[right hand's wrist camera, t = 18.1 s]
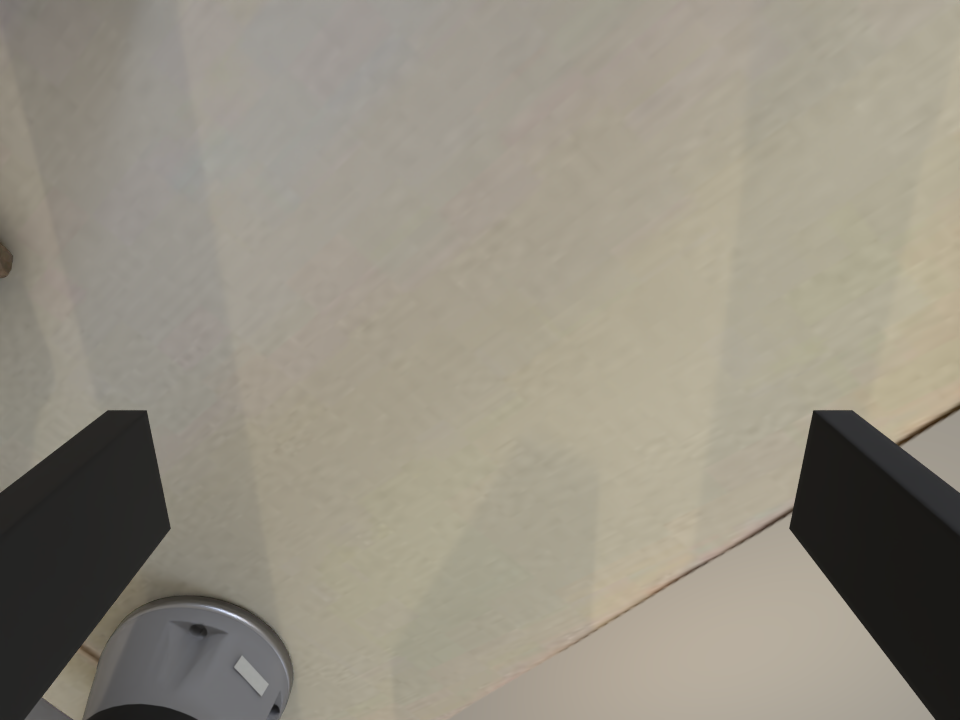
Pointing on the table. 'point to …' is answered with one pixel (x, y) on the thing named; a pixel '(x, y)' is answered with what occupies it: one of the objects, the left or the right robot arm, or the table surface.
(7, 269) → the stone
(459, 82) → the table surface
